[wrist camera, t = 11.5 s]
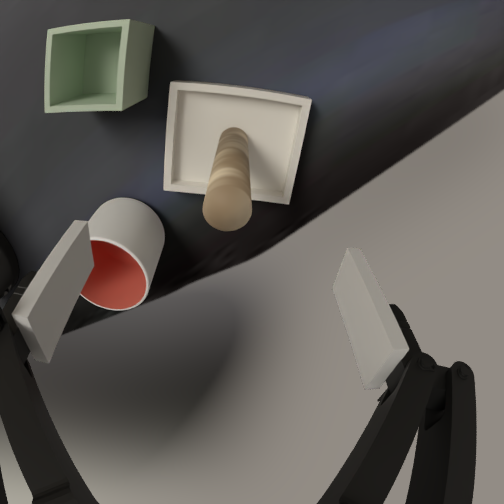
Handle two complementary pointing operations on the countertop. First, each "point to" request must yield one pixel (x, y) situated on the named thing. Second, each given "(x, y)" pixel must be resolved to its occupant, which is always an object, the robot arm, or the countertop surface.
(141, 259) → the cup
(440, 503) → the robot arm
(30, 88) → the countertop surface
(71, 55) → the pen pot
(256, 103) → the dish
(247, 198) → the dowel
